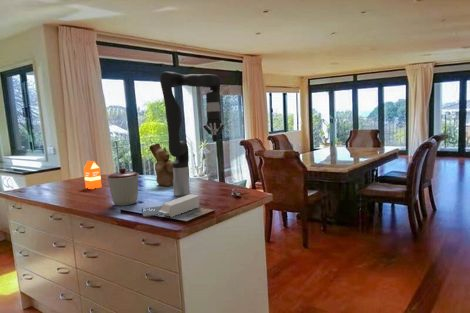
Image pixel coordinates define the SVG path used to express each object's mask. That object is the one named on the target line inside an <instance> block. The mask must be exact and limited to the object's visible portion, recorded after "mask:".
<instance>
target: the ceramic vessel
mask: <svg viewBox="0 0 470 313" xmlns="http://www.w3.org/2000/svg"><path fill="white" fill-rule="evenodd" d="M148 148H149V151H150V152H151V153H152V155H153V157H154V158H155V160H156V163H155V165H154V170H155V173H156V179H155V180H156V183H157V184H158V185H159V186H162V187H165V186H166V187H169V186H170V187H171V186H173V180H174V175H173V163H174V161H171V160H170V157H171V156H170V155H171V154H170V152H168V151H169V150H167V149H166V147H163V148H162V147H161V144H160V143H159V142H158V143H153V144H151V145H150V146H149V147H148Z"/></svg>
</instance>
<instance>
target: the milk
mask: <svg viewBox="0 0 470 313" xmlns="http://www.w3.org/2000/svg"><path fill="white" fill-rule="evenodd" d="M161 206H162V208H161V210H160V211H159V212H162V213H163V214H164V215H163V216H166V217H169V216H170V217H169V218H173V217H172V216H174V217H176V216H175V215H177V216H179V215H182V214H184V213H186V212H190V211H191V210H194V209H196V208H199V207H200V196H199V195H197V194H193V193H190V194H188V195H183V196H180V197H178V198H175V199H173V200H169V201H166V202H164V203H162V205H161ZM189 210H190V211H189ZM181 213H182V214H181ZM178 214H179V215H178Z"/></svg>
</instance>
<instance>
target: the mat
mask: <svg viewBox="0 0 470 313" xmlns="http://www.w3.org/2000/svg"><path fill="white" fill-rule="evenodd" d="M144 208H145V209H146V211H144V212H142V211H141V212H142V217H143V218H149V217H155V216H154V215H157V216H159V215H158V214H163V213H162V212H159V211H160V210H161V208H162V205H160V206H158V205H157V206H150V207H144ZM149 208H150V210H151V209H153V210H154V209H155V211H153V210H152V211H149V210H147V209H149Z"/></svg>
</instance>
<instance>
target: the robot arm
mask: <svg viewBox="0 0 470 313" xmlns="http://www.w3.org/2000/svg"><path fill="white" fill-rule="evenodd" d="M159 80H160V81H159V82H160V88H161V92H162V96H163V101H164V109H165V118H166V125H167V132H168V133H167V134H168V135H167V136H168V151H169V152H168V153H169V155H171V156H172V157H173V158H175V159H174V161H173V162H174V163H173V175H174V180H173V185H172V190H173V192H172V193H173V196H179V197H184V196H186V195H189V194H191V192H190V191H191V190H190V179H189V178H190V177H189V159H190V157H189V156H190V155H189V152H190V151H189V146H188V144H187V142H186V141H183V140H180V129H181V125H182V123H183V122H182V121H183V120H182V109H181V106H180V104H179V103H178V102H177V101H178V100H176V98H175V95H174V92H173V88H177V87H183V86H187V87H192V88H193V87H194V88H195V87H196V88H202V87H203V88H209V91H208V92H207V93H206V94H205V97H206V98H205V101H206V102H205V103H206V106H205V107H206V109H205V110H206V124H205V125H203V126H202V127H203V128H204V130H205V131H206V132H207V133H208V134H209V135H211V139H212V141H213V142H214V143H216V142H218V140H219V137H218V136H219V135H220V134H221V133H222V131H223V130H224V129H225V126H226V124H224V123H223V122H222V120H221V106H220V99H219V98H220V97H219V94H220V90H221V89H220V88H221V79H220V77H219V76H218V75H217V74H210V73H207V74H206V73H205V74H199V73H196V74H195V73H191V74H181V73H178V72H175V71H163V72H161V74H160V78H159Z"/></svg>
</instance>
